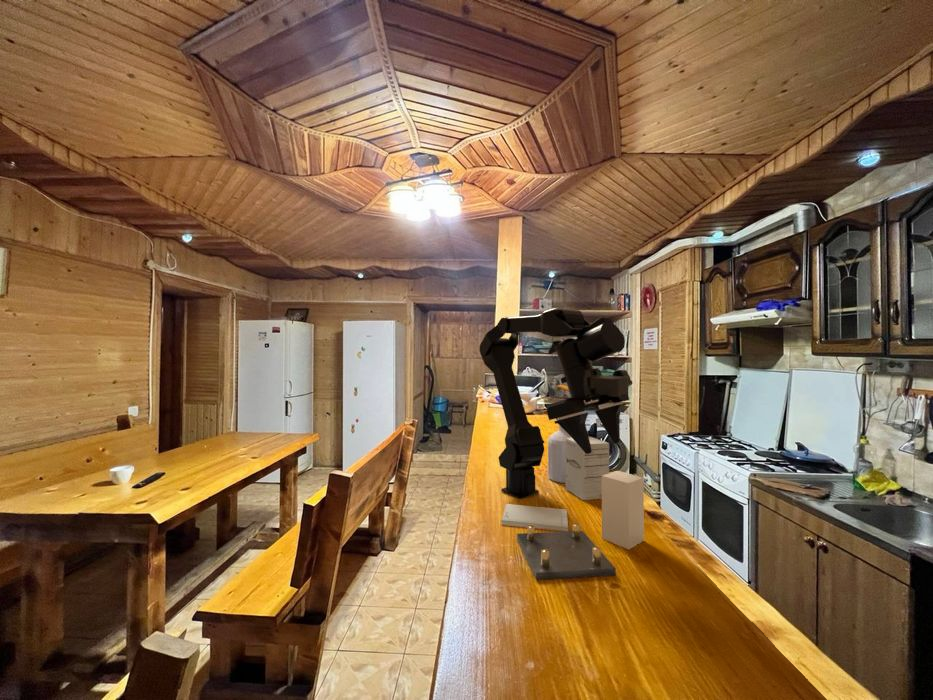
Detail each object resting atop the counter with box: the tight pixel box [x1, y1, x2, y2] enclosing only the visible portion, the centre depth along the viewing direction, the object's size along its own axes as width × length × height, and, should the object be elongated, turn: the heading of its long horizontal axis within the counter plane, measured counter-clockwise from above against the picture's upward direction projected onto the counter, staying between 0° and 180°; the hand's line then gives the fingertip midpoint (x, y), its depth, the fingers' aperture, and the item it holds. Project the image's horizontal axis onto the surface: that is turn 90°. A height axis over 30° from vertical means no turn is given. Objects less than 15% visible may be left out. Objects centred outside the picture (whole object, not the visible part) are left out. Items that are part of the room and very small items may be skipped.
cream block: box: [601, 470, 645, 550], centre depth 66 cm, size 5×5×11 cm
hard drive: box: [500, 503, 569, 532], centre depth 74 cm, size 2×8×12 cm
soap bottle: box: [547, 384, 572, 484], centre depth 99 cm, size 9×9×25 cm
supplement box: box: [565, 436, 610, 501], centre depth 88 cm, size 7×7×13 cm
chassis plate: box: [516, 522, 617, 581], centre depth 61 cm, size 12×12×3 cm
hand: (603, 448), depth 70 cm, fingers open, 9 cm apart
